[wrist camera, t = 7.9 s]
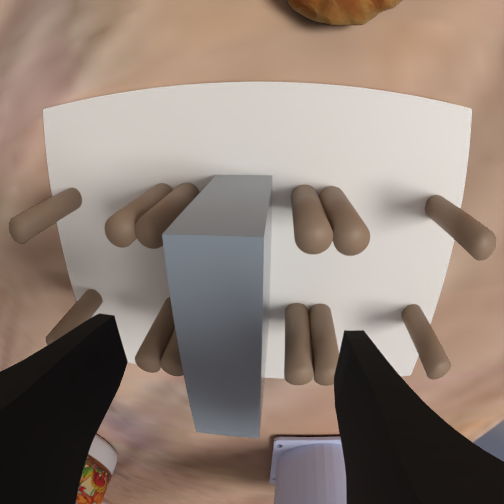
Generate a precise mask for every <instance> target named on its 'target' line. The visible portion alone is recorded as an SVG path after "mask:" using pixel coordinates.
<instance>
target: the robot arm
mask: <svg viewBox="0 0 504 504" xmlns="http://www.w3.org/2000/svg"><path fill="white" fill-rule="evenodd" d="M127 362H128V361H127V358H126V354H125V351H124V348H123V344H122V341H121V338H120V334H119V331H118V327H117V323H116V320H115V316H114V315H107V314H100V313H99V314H97V315H95V316H93V317H92V318H90V319H88V320H87V321H85V322H83V323H82V324H80V325H79V326H77V327H75V328H74V329H72V330H71V331H69V332H68V333H66V334H65V335H63V336H62V337H60V338H59V339H57V340H55V341H54V342H52V343H51V344H49V345H48V346H46V347H44V348H43V349H41V350H39V351H38V352H36V353H34V354H33V355H31V356H29V357H28V358H26V359H24V360H23V361H21V362H19V363H17V364H15V365H13V366H11V367H9V368H7V369H5V370H3V371H1V372H0V504H76V499H77V493H78V488H79V484H80V480H81V476H82V473H83V469H84V465H85V462H86V459H87V456H88V453H89V450H90V447H91V444H92V442H93V439H94V437H95V435H96V433H97V431H98V429H99V427H100V425H101V422H102V420H103V418H104V416H105V414H106V412H107V410H108V408H109V406H110V404H111V402H112V400H113V398H114V396H115V394H116V392H117V390H118V388H119V386H120V383H121V380H122V377H123V375H124V371H125V368H126V365H127ZM334 394H335V408H336V414H337V420H338V426H339V432H340V436H337V437H276V438H275V439H274V444H273V454H272V464H271V473H270V484H274V485H275V495H274V504H504V462H503V461H501V460H500V459H498V458H496V457H494V456H493V455H491V454H489V453H488V452H486V451H484V450H483V449H481V448H480V447H478V446H477V445H475V444H474V443H472V442H471V441H470V440H468V439H467V438H466V437H464V436H463V435H461V434H460V433H459V432H457V431H456V430H455V429H454V428H452V427H451V426H450V425H449V424H447V423H446V422H445V421H444V420H443V419H442V418H441V417H440V416H438V415H437V414H436V413H435V412H434V411H433V410H432V409H431V408H430V407H429V406H427V405H426V404H425V403H424V402H423V401H422V400H421V399H420V397H419V396H418V395H417V394H416V393H415V392H414V391H413V390H412V389H411V388H410V387H409V386H408V385H407V383H406V382H405V381H404V380H403V379H402V378H401V376H400V375H399V374H398V373H397V372H396V370H395V369H394V368H393V367H392V366H391V364H390V363H389V362H388V361H387V359H386V358H385V357H384V356H383V354H382V353H381V352H380V351H379V349H378V348H377V347H376V345H375V344H374V343H373V341H372V340H371V339H370V338H369V336H368V335H367V334H366V333H365V331H364V330H355V331H348V330H344V334H343V338H342V343H341V348H340V353H339V357H338V362H337V366H336V370H335V375H334Z"/></svg>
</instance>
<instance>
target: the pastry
mask: <svg viewBox="0 0 504 504" xmlns="http://www.w3.org/2000/svg"><path fill="white" fill-rule="evenodd" d="M401 1H402V0H288V2H289V4H290V6H291V7H292V9H293V10H295V11H296V12H298V13H300V14H301V15H303V16H304V17H306V18H308V19H310V20H313V21H316V22H321V23H327V24H330V25H363V24H366V23H367V22H368V21H369V20H371V19H372V18H374V17H375V16H376V15H377V14H379V13H380V12H382V11H385V10H388V9H391V8H394V7H395V6H396V5H398V4H399V3H400V2H401Z"/></svg>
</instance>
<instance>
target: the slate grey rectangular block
mask: <svg viewBox="0 0 504 504" xmlns="http://www.w3.org/2000/svg"><path fill="white" fill-rule="evenodd" d="M271 227H272V175H216V176H215V177H214V178H213V179H212V181H211V182H210V183H209V184H208V185H207V186H206V187H205V188H204V189H203V190H202V191H201V192H200V193H199V194H198V195H197V196H196V197H195V199H194V200H193V201H192V202H191V203H190V204H189V205H188V206H187V207H186V208H185V209H184V211H183V212H182V213H181V214H180V215H179V216H178V217H177V218H176V219H175V220H174V222H173V223H172V224H171V225H170V226H169V227H168V228H167V229H166V231H165V232H164V233H163V234H162V238H163V247H164V255H165V263H166V271H167V278H168V285H169V292H170V299H171V305H172V312H173V318H174V324H175V330H176V336H177V342H178V347H179V353H180V358H181V363H182V368H183V373H184V378H185V383H186V388H187V393H188V398H189V402H190V407H191V411H192V416H193V420H194V424H195V428H196V432H200V433H208V434H217V435H226V436H237V437H250V438H259V436H260V426H261V414H262V403H263V391H264V379H265V367H266V355H267V342H268V329H269V300H270V267H271Z"/></svg>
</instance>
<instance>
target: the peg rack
mask: <svg viewBox="0 0 504 504" xmlns="http://www.w3.org/2000/svg"><path fill="white" fill-rule="evenodd" d="M43 118H44V133H45V145H46V155H47V164H48V172H49V179H50V186H51V193H52V197H50V198H48V199H47V200H45V201H43V202H41V203H39V204H37V205H35V206H33V207H31V208H29V209H28V210H26V211H24V212H22V213H20V214H18V215H17V216H15V217H13V218H12V219H11V220H10V222H9V230H10V234H11V236H12V238H13V239H14V240H15V241H16V242H17V243H19V244H24V243H25V242H27V241H28V240H30V239H31V238H33V237H34V236H36V235H37V234H39V233H40V232H42V231H43V230H45V229H46V228H48V227H49V226H51V225H52V224H54V223H56V222H57V227H58V231H59V236H60V241H61V245H62V250H63V254H64V258H65V262H66V266H67V270H68V274H69V278H70V281H71V285H72V289H73V292H74V295H75V299H76V303H75V304H74V305H73V307H72V308H71V309H70V310H69V311H68V312H67V313H66V315H65V316H64V317H63V318H62V319H61V320H60V321H59V323H58V324H57V325H56V326H55V327H54V328H53V330H52V331H51V332H50V333H49V334H48V336H47V337H46V342H47V345H49V344H51V343H52V342H54V341H55V340H57V339H59V338H60V337H62V336H63V335H65V334H66V333H68V332H69V331H71V330H72V329H74V328H75V327H77V326H79V325H80V324H82V323H83V322H85V321H87V320H88V319H90V318H92V317H93V316H95V315H97V314H99V313H100V314H107V315H114V316H115V320H116V323H117V327H118V331H119V334H120V338H121V341H122V344H123V348H124V351H125V354H126V358H127V361H128V362H127V363H133V364H137V365H138V366H139V367H140V368H141V369H143V370H144V371H147V372H151V373H154V372H157V371H159V370H160V368H162V369H163V370H164V371H165V372H167V373H168V374H170V375H173V376H182V375H184V373H183V368H182V363H181V358H180V353H179V347H178V342H177V336H176V330H175V324H174V318H173V312H172V305H171V299H170V292H169V285H168V278H167V271H166V263H165V255H164V247H163V238H162V234H163V233H164V232H165V231H166V229H167V228H168V227H169V226H170V225H171V224H172V223H173V222H174V220H175V219H176V218H177V217H178V216H179V215H180V214H181V213H182V212H183V211H184V209H185V208H186V207H187V206H188V205H189V204H190V203H191V202H192V201H193V200H194V199H195V197H196V196H197V195H198V194H199V193H200V192H201V191H202V190H203V189H204V188H205V187H206V186H207V185H208V184H209V183H210V182H211V181H212V179H213V178H214V177H215V176H216V175H272V227H271V267H270V300H269V329H268V342H267V355H266V367H265V378H285V380H286V381H287V382H288V383H290V384H293V385H304V384H307V383H308V382H310V381H311V380H312V379H314V380H315V382H316V383H318V384H320V385H332V384H334V375H335V370H336V366H337V362H338V357H339V353H340V348H341V343H342V338H343V334H344V330H348V331H355V330H364V331H365V333H366V334H367V335H368V336H369V338H370V339H371V340H372V341H373V343H374V344H375V345H376V347H377V348H378V349H379V351H380V352H381V353H382V354H383V356H384V357H385V358H386V359H387V361H388V362H389V363H390V364H391V366H392V367H393V368H394V369H395V370H396V372H397V373H398V374H399V375H400V376H410V375H411V373H412V371H413V368H414V366H415V363H416V361H417V358H418V356H419V357H420V359H421V362H422V364H423V366H424V369H425V371H426V373H427V376H428V378H430V379H438V378H440V377H442V376H444V375H445V374H446V373H447V372H448V371H449V369H450V367H451V363H450V361H449V359H448V357H447V355H446V353H445V351H444V349H443V348H442V346H441V344H440V342H439V340H438V338H437V336H436V334H435V333H434V331H433V329H432V327H431V325H430V324H431V321H432V318H433V315H434V312H435V309H436V305H437V302H438V299H439V296H440V293H441V289H442V286H443V282H444V279H445V275H446V271H447V268H448V264H449V260H450V256H451V252H452V248H453V244H454V240H456V241H457V242H458V243H459V244H460V245H461V246H462V247H463V248H464V249H465V250H466V251H467V252H468V253H470V254H471V255H472V256H473V257H474V258H475V259H476V260H485V259H487V258H488V257H489V256H490V255H491V254H492V252H493V251H494V248H495V245H496V237H495V235H494V233H493V232H492V231H491V230H489V229H488V228H487V227H485V226H484V225H483V224H481V223H480V222H479V221H477V220H476V219H474V218H473V217H472V216H470V215H469V214H467V213H466V212H464V211H463V210H461V204H462V198H463V192H464V186H465V179H466V172H467V164H468V155H469V145H470V133H471V118H472V109H470V108H467V107H463V106H459V105H455V104H451V103H446V102H442V101H437V100H433V99H428V98H423V97H418V96H413V95H407V94H401V93H395V92H389V91H382V90H375V89H367V88H359V87H350V86H340V85H328V84H314V83H295V82H223V83H203V84H189V85H178V86H168V87H159V88H150V89H143V90H136V91H129V92H122V93H116V94H111V95H105V96H100V97H94V98H89V99H85V100H80V101H75V102H71V103H67V104H62V105H58V106H54V107H50V108H46V109H43Z"/></svg>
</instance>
